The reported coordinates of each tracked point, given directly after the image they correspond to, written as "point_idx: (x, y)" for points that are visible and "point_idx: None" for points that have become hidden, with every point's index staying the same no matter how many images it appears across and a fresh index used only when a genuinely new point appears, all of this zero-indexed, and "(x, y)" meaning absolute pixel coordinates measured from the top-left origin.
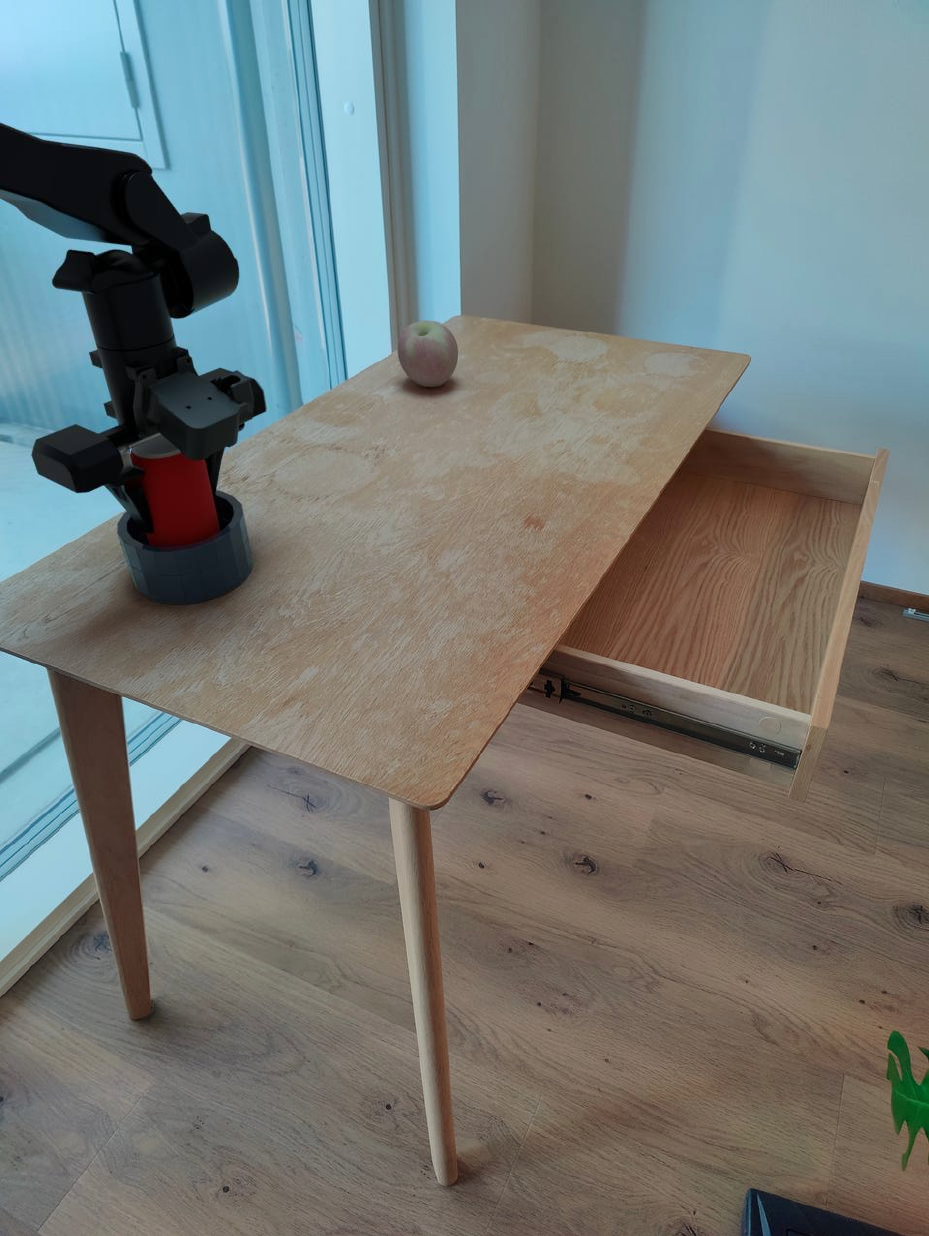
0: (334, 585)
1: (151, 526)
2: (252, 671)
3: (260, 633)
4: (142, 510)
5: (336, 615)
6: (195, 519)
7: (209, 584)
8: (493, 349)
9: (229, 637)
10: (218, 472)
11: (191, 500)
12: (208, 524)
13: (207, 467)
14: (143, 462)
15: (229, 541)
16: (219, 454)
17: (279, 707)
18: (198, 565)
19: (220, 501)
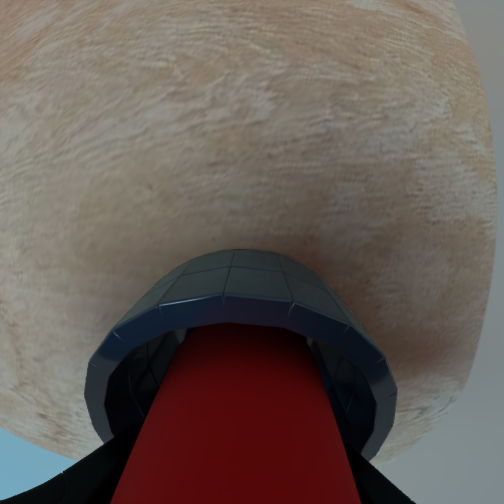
0: (143, 85)
1: (350, 454)
2: (409, 71)
3: (337, 107)
4: (389, 492)
5: (221, 27)
6: (273, 404)
7: (307, 273)
8: None
9: (374, 152)
10: (77, 466)
11: (277, 463)
12: (227, 375)
13: (97, 502)
14: None
15: (232, 281)
16: (38, 501)
17: (427, 16)
18: (334, 299)
19: (113, 413)
